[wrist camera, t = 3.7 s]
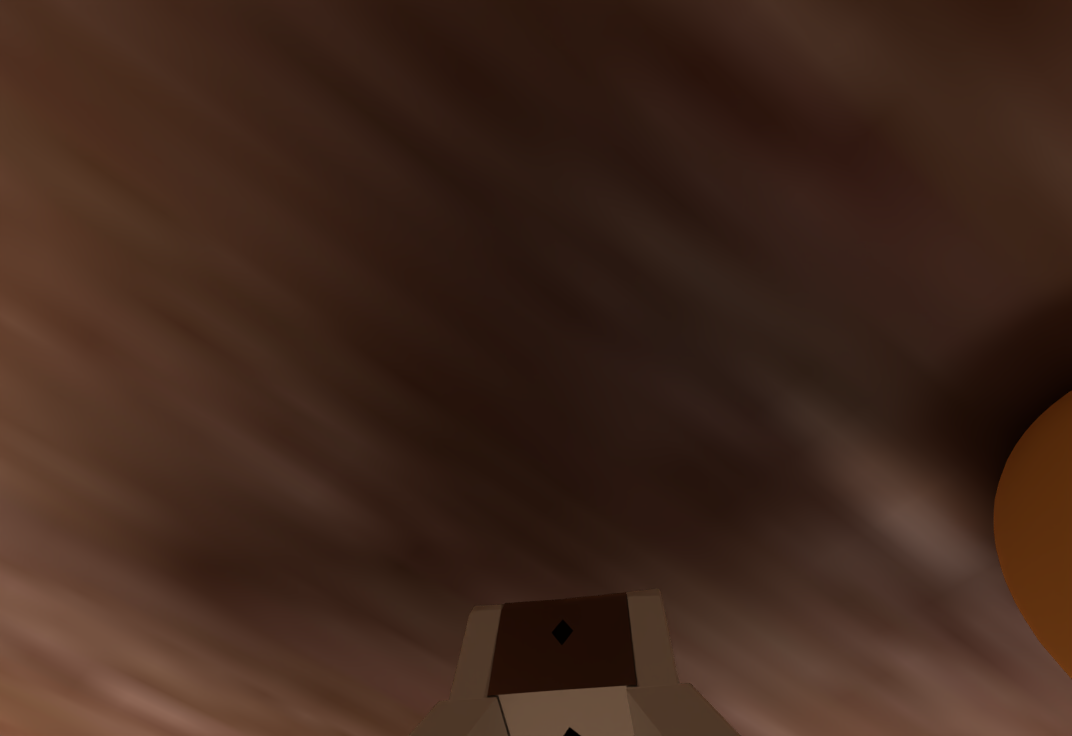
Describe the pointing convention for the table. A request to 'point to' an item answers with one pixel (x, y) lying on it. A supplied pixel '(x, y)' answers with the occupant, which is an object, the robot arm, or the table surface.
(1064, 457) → the ball
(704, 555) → the table surface
